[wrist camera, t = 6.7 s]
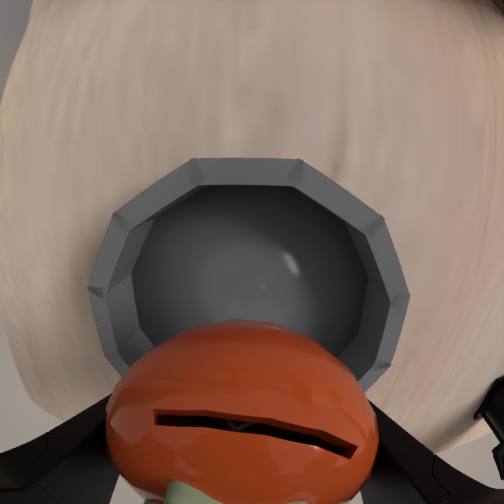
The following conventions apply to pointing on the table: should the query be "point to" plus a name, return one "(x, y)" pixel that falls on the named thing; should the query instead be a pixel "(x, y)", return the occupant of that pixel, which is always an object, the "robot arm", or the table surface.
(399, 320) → the bowl
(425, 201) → the table surface
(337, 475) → the tomato
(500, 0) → the ceramic cup
